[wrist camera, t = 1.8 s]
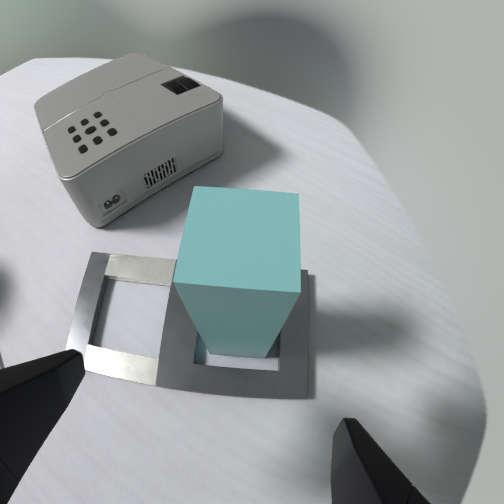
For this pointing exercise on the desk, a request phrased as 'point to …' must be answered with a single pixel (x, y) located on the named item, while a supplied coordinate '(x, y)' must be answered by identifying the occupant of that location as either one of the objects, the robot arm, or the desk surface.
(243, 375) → the panel
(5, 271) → the desk surface
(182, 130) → the projector
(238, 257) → the plug
